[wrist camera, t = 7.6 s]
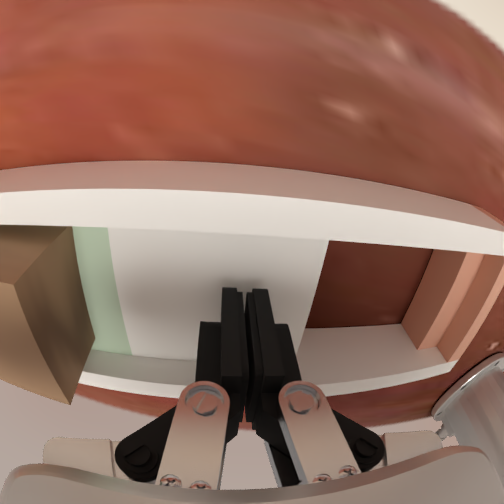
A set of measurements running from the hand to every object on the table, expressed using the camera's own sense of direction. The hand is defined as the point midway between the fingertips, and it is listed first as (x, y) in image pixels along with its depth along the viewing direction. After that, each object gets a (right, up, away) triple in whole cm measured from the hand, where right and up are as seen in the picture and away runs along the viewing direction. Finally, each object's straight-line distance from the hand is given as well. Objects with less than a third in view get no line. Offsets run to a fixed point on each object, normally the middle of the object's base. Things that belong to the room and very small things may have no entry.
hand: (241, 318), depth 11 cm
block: (-10, +1, -1) cm, 10 cm away
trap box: (0, +2, +3) cm, 3 cm away
